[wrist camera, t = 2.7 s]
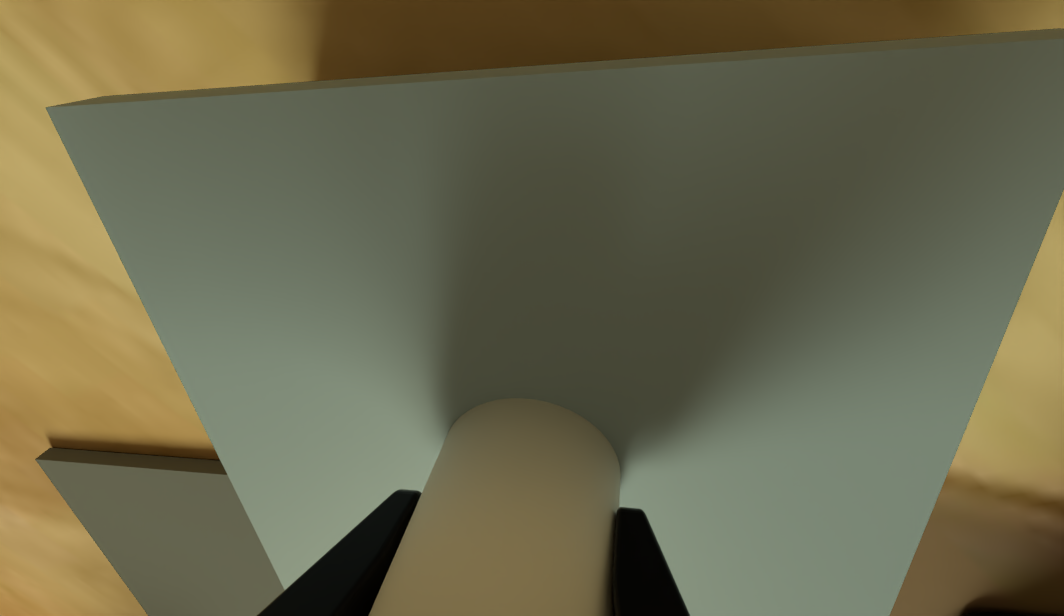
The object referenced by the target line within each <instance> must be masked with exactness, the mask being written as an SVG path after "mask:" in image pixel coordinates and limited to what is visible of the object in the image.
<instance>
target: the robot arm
mask: <svg viewBox="0 0 1064 616" xmlns="http://www.w3.org/2000/svg"><path fill="white" fill-rule="evenodd" d="M421 494H422V493H421V492H420V491H417V490H406V489H399V490H397V491H395V492H393V493H392V494H391V495H390V496H389V497H388V498H387V499H386V500H384V501H383V502H382V503H381V504H380V505H379V506H378V507H377V508H376V509H374V510H373V511H372V512H371V513H370V514H369V515H368V516H367V517H366V518H364V519H363V520H362V521H361V522H360V523H359V524H358V525H357V526H356V527H354V528H353V529H352V530H351V531H350V532H349V533H348V534H347V535H346V536H344V537H343V538H342V539H341V540H340V541H339V542H338V543H337V544H336V545H334V546H333V547H332V548H331V549H330V550H329V551H328V552H327V553H326V554H324V555H323V556H322V557H321V558H320V559H319V560H318V561H317V562H316V563H314V564H313V565H312V566H311V567H310V568H309V569H308V570H307V571H306V572H304V573H303V574H302V575H301V576H300V577H299V578H298V579H297V580H296V581H294V582H293V583H292V584H291V585H290V586H289V587H288V588H287V589H286V590H284V591H283V592H282V593H281V594H280V595H279V596H278V597H277V598H276V599H274V600H273V601H272V602H271V603H270V604H269V605H268V606H267V607H266V608H264V609H263V610H262V611H261V612H260V613H259V614H258V615H257V616H369V613H370V611H371V609H372V607H373V604H374V602H375V600H376V597H377V595H378V593H379V590H380V588H381V586H382V584H383V581H384V579H385V577H386V574H387V572H388V570H389V567H390V565H391V563H392V561H393V558H394V556H395V554H396V551H397V549H398V547H399V545H400V542H401V540H402V538H403V535H404V533H405V531H406V528H407V526H408V524H409V522H410V519H411V517H412V515H413V512H414V510H415V508H416V505H417V503H418V501H419V499H420V496H421ZM613 609H614V616H690V614H689V612H688V609H687V607H686V605H685V602H684V600H683V598H682V596H681V593H680V591H679V589H678V587H677V584H676V582H675V580H674V577H673V575H672V573H671V571H670V568H669V566H668V564H667V561H666V559H665V557H664V555H663V552H662V550H661V548H660V545H659V543H658V541H657V539H656V536H655V534H654V532H653V530H652V527H651V525H650V523H649V520H648V518H647V516H646V514H645V512H644V511H643V510H642V509H639V508H627V507H620V508H618V509H617V512H616V529H615V547H614V565H613ZM966 616H1016V615H1007V614H997V613H988V612H976V613H971V614H968V615H966Z"/></svg>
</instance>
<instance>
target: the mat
mask: <svg viewBox="0 0 1064 616" xmlns="http://www.w3.org/2000/svg"><path fill="white" fill-rule="evenodd" d="M35 460H36V461H37V462H38V464H39V465H40V467H41V468H42V469H43V471H44V472H45V474H46V475H47V476H48V478H49V479H50V480H51V482H52V483H53V485H54V486H55V487H56V489H57V490H58V491H59V493H60V494H61V496H62V497H63V498H64V500H65V501H66V503H67V504H68V505H69V507H70V508H71V509H72V511H73V512H74V514H75V515H76V516H77V518H78V519H79V520H80V522H81V523H82V525H83V526H84V527H85V529H86V530H87V532H88V533H89V534H90V536H91V537H92V538H93V540H94V541H95V543H96V544H97V545H98V547H99V548H100V550H101V551H102V552H103V554H104V555H105V556H106V558H107V559H108V561H109V562H110V563H111V565H112V566H113V567H114V569H115V570H116V572H117V573H118V574H119V576H120V577H121V579H122V580H123V581H124V583H125V584H126V585H127V587H128V588H129V590H130V591H131V592H132V594H133V595H134V596H135V598H136V599H137V601H138V602H139V603H140V605H141V606H142V608H143V609H144V610H145V612H146V613H147V614H148V616H257V615H258V614H259V613H260V612H261V611H262V610H263V609H264V608H266V607H267V606H268V605H269V604H270V603H271V602H272V601H273V600H274V599H276V598H277V597H278V596H279V595H280V594H281V593H282V592H283V591H284V588H283V586H282V584H281V582H280V580H279V578H278V576H277V574H276V572H275V570H274V567H273V565H272V563H271V561H270V559H269V557H268V555H267V553H266V551H265V549H264V547H263V545H262V543H261V541H260V539H259V537H258V535H257V533H256V531H255V529H254V527H253V525H252V523H251V521H250V519H249V517H248V515H247V513H246V511H245V509H244V507H243V505H242V503H241V501H240V499H239V497H238V495H237V493H236V491H235V489H234V487H233V485H232V483H231V481H230V479H229V477H228V475H227V473H226V471H225V469H224V467H223V465H222V463H221V461H217V460H204V459H191V458H178V457H165V456H152V455H139V454H126V453H113V452H100V451H86V450H73V449H60V448H49V449H48V450H47V451H45V452H44V453H43V454H41V455H40V456H39V457H38V458H36V459H35Z"/></svg>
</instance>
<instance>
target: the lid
mask: <svg viewBox="0 0 1064 616" xmlns="http://www.w3.org/2000/svg"><path fill="white" fill-rule="evenodd" d="M46 110H47V112H48V114H49V116H50V118H51V120H52V122H53V124H54V126H55V128H56V130H57V132H58V134H59V136H60V138H61V140H62V142H63V144H64V146H65V148H66V150H67V152H68V154H69V156H70V158H71V160H72V162H73V164H74V166H75V168H76V170H77V172H78V174H79V176H80V178H81V180H82V182H83V184H84V186H85V188H86V190H87V192H88V194H89V196H90V198H91V200H92V202H93V204H94V206H95V208H96V210H97V213H98V215H99V217H100V219H101V221H102V223H103V225H104V227H105V229H106V231H107V233H108V235H109V237H110V239H111V241H112V243H113V245H114V247H115V249H116V251H117V253H118V255H119V257H120V259H121V261H122V263H123V265H124V267H125V269H126V271H127V273H128V275H129V277H130V279H131V281H132V283H133V285H134V287H135V289H136V291H137V293H138V295H139V297H140V299H141V301H142V303H143V305H144V307H145V309H146V311H147V313H148V315H149V317H150V319H151V321H152V323H153V325H154V327H155V329H156V332H157V334H158V336H159V338H160V340H161V342H162V344H163V346H164V348H165V350H166V352H167V354H168V356H169V358H170V360H171V362H172V364H173V366H174V368H175V370H176V372H177V374H178V376H179V378H180V380H181V382H182V384H183V386H184V388H185V390H186V392H187V394H188V396H189V398H190V400H191V402H192V404H193V406H194V408H195V410H196V412H197V414H198V416H199V418H200V420H201V422H202V424H203V426H204V428H205V430H206V432H207V434H208V436H209V438H210V440H211V442H212V444H213V446H214V448H215V451H216V453H217V455H218V457H219V459H220V461H221V463H222V465H223V467H224V469H225V471H226V473H227V475H228V477H229V479H230V481H231V483H232V485H233V487H234V489H235V491H236V493H237V495H238V497H239V499H240V501H241V503H242V505H243V507H244V509H245V511H246V513H247V515H248V517H249V519H250V521H251V523H252V525H253V527H254V529H255V531H256V533H257V535H258V537H259V539H260V541H261V543H262V545H263V547H264V549H265V551H266V553H267V555H268V557H269V559H270V561H271V563H272V565H273V567H274V570H275V572H276V574H277V576H278V578H279V580H280V582H281V584H282V586H283V588H284V590H286V589H287V588H288V587H289V586H290V585H291V584H292V583H293V582H294V581H296V580H297V579H298V578H299V577H300V576H301V575H302V574H303V573H304V572H306V571H307V570H308V569H309V568H310V567H311V566H312V565H313V564H314V563H316V562H317V561H318V560H319V559H320V558H321V557H322V556H323V555H324V554H326V553H327V552H328V551H329V550H330V549H331V548H332V547H333V546H334V545H336V544H337V543H338V542H339V541H340V540H341V539H342V538H343V537H344V536H346V535H347V534H348V533H349V532H350V531H351V530H352V529H353V528H354V527H356V526H357V525H358V524H359V523H360V522H361V521H362V520H363V519H364V518H366V517H367V516H368V515H369V514H370V513H371V512H372V511H373V510H374V509H376V508H377V507H378V506H379V505H380V504H381V503H382V502H383V501H384V500H386V499H387V498H388V497H389V496H390V495H391V494H392V493H393V492H395V491H397V490H399V489H406V490H417V491H420V492H421V493H422V494H421V496H420V499H419V501H418V503H417V505H416V508H415V510H414V512H413V515H412V517H411V519H410V522H409V524H408V526H407V528H406V531H405V533H404V535H403V538H402V540H401V542H400V545H399V547H398V549H397V551H396V554H395V556H394V558H393V561H392V563H391V565H390V567H389V570H388V572H387V574H386V577H385V579H384V581H383V584H382V586H381V588H380V590H379V593H378V595H377V597H376V600H375V602H374V604H373V607H372V609H371V611H370V613H369V616H614V609H613V565H614V547H615V529H616V512H617V509H618V508H620V507H627V508H639V509H642V510H643V511H644V512H645V514H646V516H647V518H648V520H649V523H650V525H651V527H652V530H653V532H654V534H655V536H656V539H657V541H658V543H659V545H660V548H661V550H662V552H663V555H664V557H665V559H666V561H667V564H668V566H669V568H670V571H671V573H672V575H673V577H674V580H675V582H676V584H677V587H678V589H679V591H680V593H681V596H682V598H683V600H684V602H685V605H686V607H687V609H688V612H689V614H690V616H889V615H890V613H891V610H892V608H893V605H894V603H895V600H896V598H897V595H898V593H899V591H900V588H901V586H902V583H903V581H904V578H905V576H906V573H907V571H908V569H909V566H910V564H911V561H912V559H913V556H914V554H915V551H916V549H917V547H918V544H919V542H920V539H921V537H922V534H923V532H924V529H925V527H926V525H927V522H928V520H929V517H930V515H931V512H932V510H933V507H934V505H935V503H936V500H937V498H938V495H939V493H940V490H941V488H942V485H943V483H944V481H945V478H946V476H947V473H948V471H949V468H950V466H951V463H952V461H953V459H954V456H955V454H956V451H957V449H958V446H959V444H960V441H961V439H962V437H963V434H964V432H965V429H966V427H967V424H968V422H969V420H970V417H971V415H972V412H973V410H974V407H975V405H976V402H977V400H978V398H979V395H980V393H981V390H982V388H983V385H984V383H985V380H986V378H987V376H988V373H989V371H990V368H991V366H992V363H993V361H994V358H995V356H996V354H997V351H998V349H999V346H1000V344H1001V341H1002V339H1003V336H1004V334H1005V332H1006V329H1007V327H1008V324H1009V322H1010V319H1011V317H1012V314H1013V312H1014V310H1015V307H1016V305H1017V302H1018V300H1019V297H1020V295H1021V292H1022V290H1023V288H1024V285H1025V283H1026V280H1027V278H1028V275H1029V273H1030V270H1031V268H1032V266H1033V263H1034V261H1035V258H1036V256H1037V253H1038V251H1039V248H1040V246H1041V244H1042V241H1043V239H1044V236H1045V234H1046V231H1047V229H1048V226H1049V224H1050V222H1051V219H1052V217H1053V214H1054V212H1055V209H1056V207H1057V204H1058V202H1059V200H1060V197H1061V195H1062V192H1063V190H1064V29H1060V28H1059V29H1045V30H1031V31H1017V32H1002V33H988V34H974V35H960V36H946V37H932V38H918V39H904V40H890V41H875V42H861V43H847V44H833V45H819V46H805V47H791V48H777V49H763V50H748V51H734V52H720V53H706V54H692V55H678V56H664V57H650V58H636V59H621V60H607V61H593V62H579V63H565V64H551V65H537V66H523V67H509V68H494V69H480V70H466V71H452V72H438V73H424V74H410V75H396V76H382V77H367V78H353V79H339V80H325V81H311V82H297V83H283V84H269V85H254V86H240V87H226V88H212V89H198V90H184V91H170V92H156V93H142V94H127V95H113V96H103V97H97V98H92V99H87V100H82V101H77V102H72V103H66V104H61V105H56V106H51V107H46Z"/></svg>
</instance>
